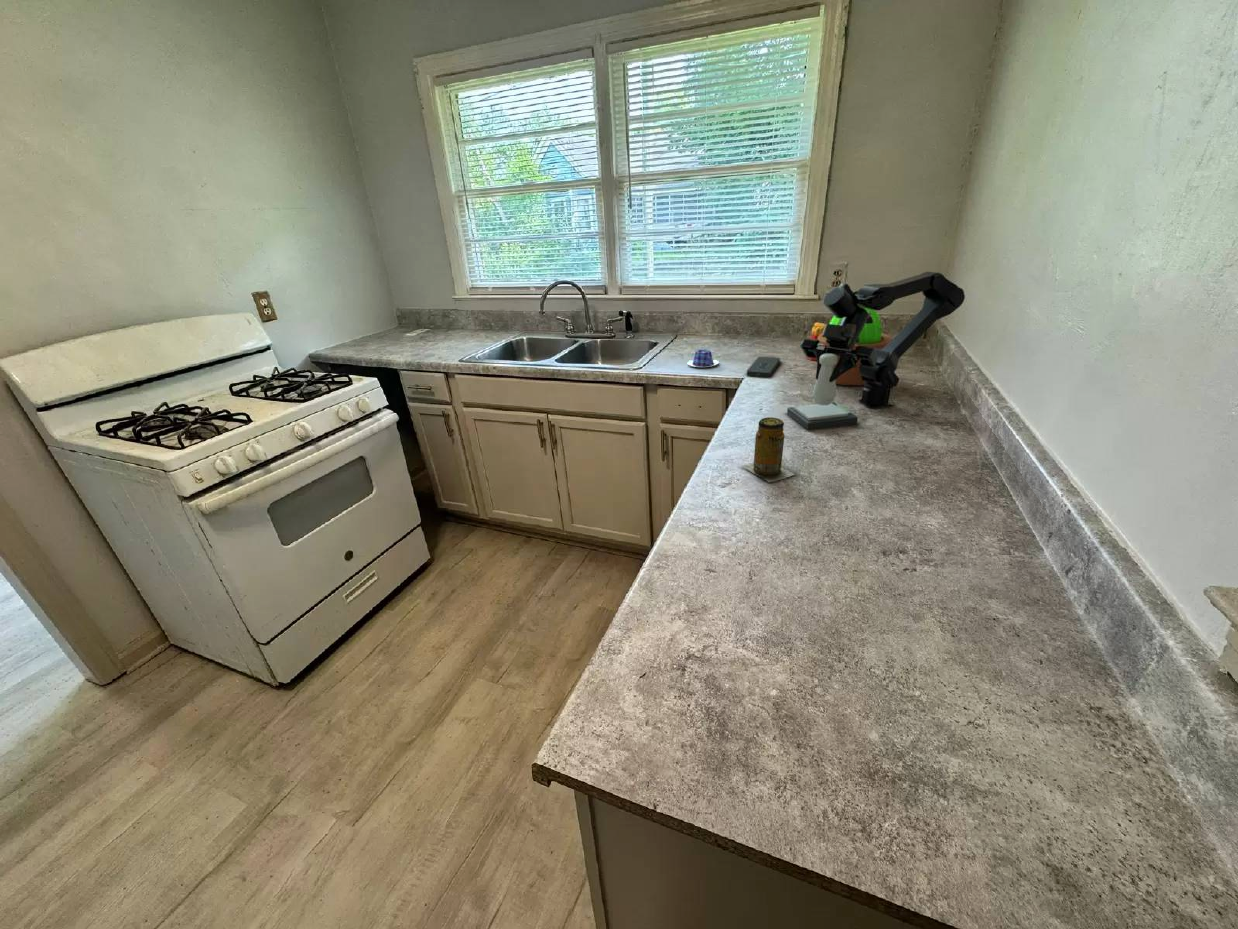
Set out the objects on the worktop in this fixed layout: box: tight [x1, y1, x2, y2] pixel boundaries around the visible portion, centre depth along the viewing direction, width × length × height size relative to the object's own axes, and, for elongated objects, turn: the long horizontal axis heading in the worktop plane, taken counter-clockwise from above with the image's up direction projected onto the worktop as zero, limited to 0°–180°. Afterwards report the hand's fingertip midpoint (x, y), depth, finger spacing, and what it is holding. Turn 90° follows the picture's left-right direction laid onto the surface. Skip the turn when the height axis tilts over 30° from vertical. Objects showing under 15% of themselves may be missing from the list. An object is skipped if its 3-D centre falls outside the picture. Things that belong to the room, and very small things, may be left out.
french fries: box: [808, 322, 826, 361], centre depth 186 cm, size 9×4×13 cm, turn 163°
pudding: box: [687, 349, 720, 368], centre depth 189 cm, size 12×12×5 cm
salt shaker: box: [812, 354, 838, 405], centre depth 129 cm, size 6×6×13 cm
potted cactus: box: [817, 307, 893, 386], centre depth 160 cm, size 22×22×25 cm
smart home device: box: [746, 356, 781, 378], centre depth 181 cm, size 8×2×20 cm
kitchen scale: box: [786, 401, 859, 431], centre depth 136 cm, size 14×12×3 cm
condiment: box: [744, 416, 796, 483], centre depth 109 cm, size 7×8×12 cm
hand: (823, 380), depth 128 cm, fingers closed on salt shaker, 3 cm apart
